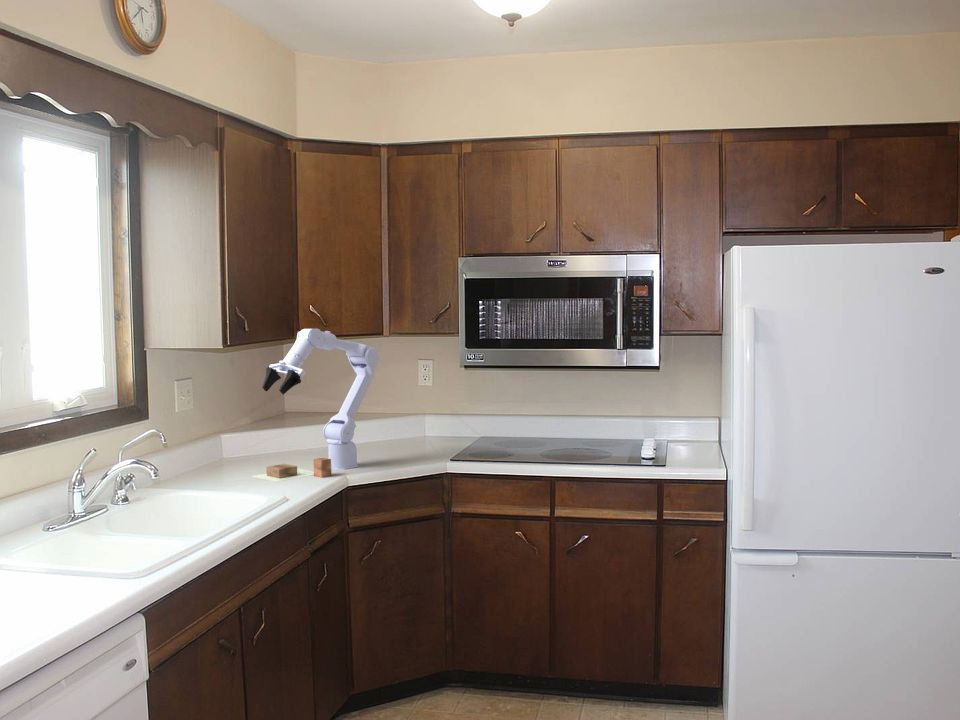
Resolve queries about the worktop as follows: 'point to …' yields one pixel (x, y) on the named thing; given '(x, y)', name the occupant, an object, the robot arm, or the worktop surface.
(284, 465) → the walnut slab
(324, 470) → the cherry block
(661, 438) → the worktop surface
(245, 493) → the worktop surface
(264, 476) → the plate
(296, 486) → the worktop surface
